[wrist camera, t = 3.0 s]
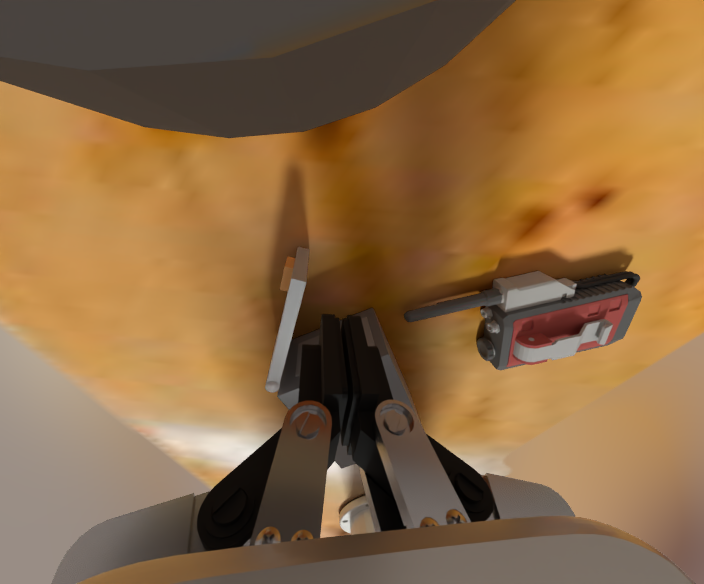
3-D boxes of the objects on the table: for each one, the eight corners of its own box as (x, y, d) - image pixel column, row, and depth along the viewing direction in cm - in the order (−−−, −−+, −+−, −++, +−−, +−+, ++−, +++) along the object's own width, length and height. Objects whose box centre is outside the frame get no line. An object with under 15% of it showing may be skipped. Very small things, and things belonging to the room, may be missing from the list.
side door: (310, 249, 18) (307, 283, 13) (286, 342, 22) (277, 392, 17) (290, 244, 17) (281, 277, 13) (270, 339, 21) (257, 390, 17)
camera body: (407, 386, 26) (429, 446, 21) (323, 417, 27) (324, 481, 22) (371, 305, 21) (389, 358, 16) (267, 347, 22) (250, 411, 16)
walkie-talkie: (629, 244, 21) (398, 297, 21) (697, 265, 17) (415, 330, 17) (598, 325, 26) (407, 369, 26) (647, 356, 22) (422, 408, 22)
